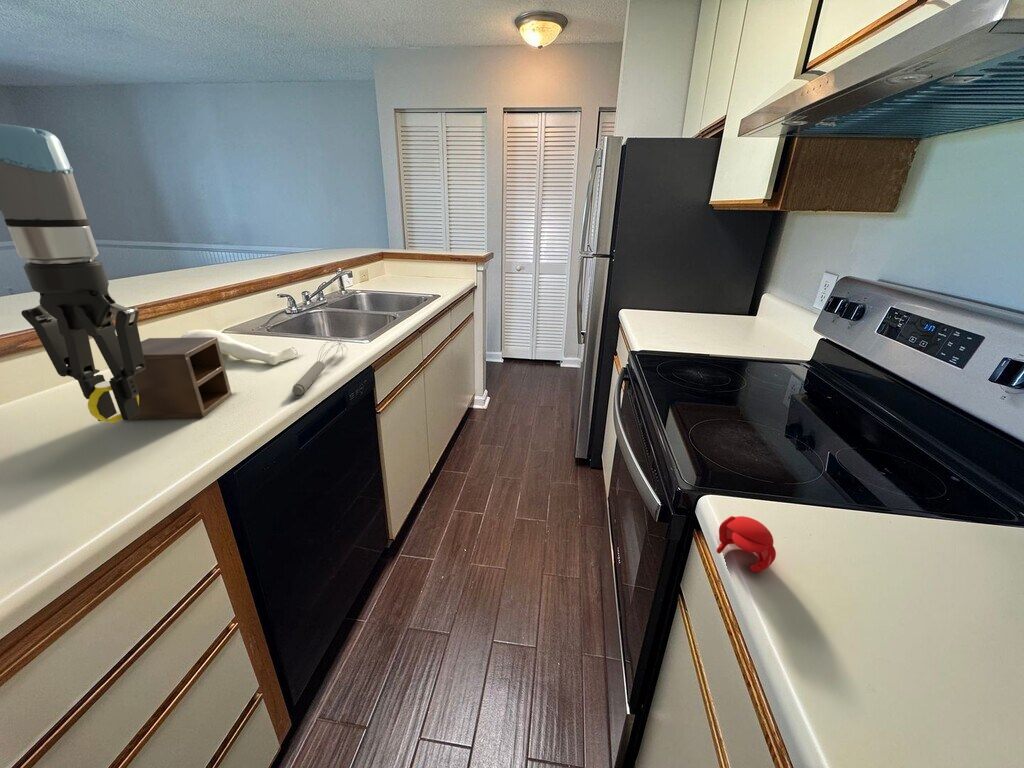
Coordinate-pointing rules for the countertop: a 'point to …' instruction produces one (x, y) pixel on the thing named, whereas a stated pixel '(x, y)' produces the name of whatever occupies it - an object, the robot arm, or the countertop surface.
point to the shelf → (181, 378)
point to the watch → (93, 402)
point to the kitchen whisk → (313, 373)
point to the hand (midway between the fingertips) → (120, 416)
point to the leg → (243, 348)
